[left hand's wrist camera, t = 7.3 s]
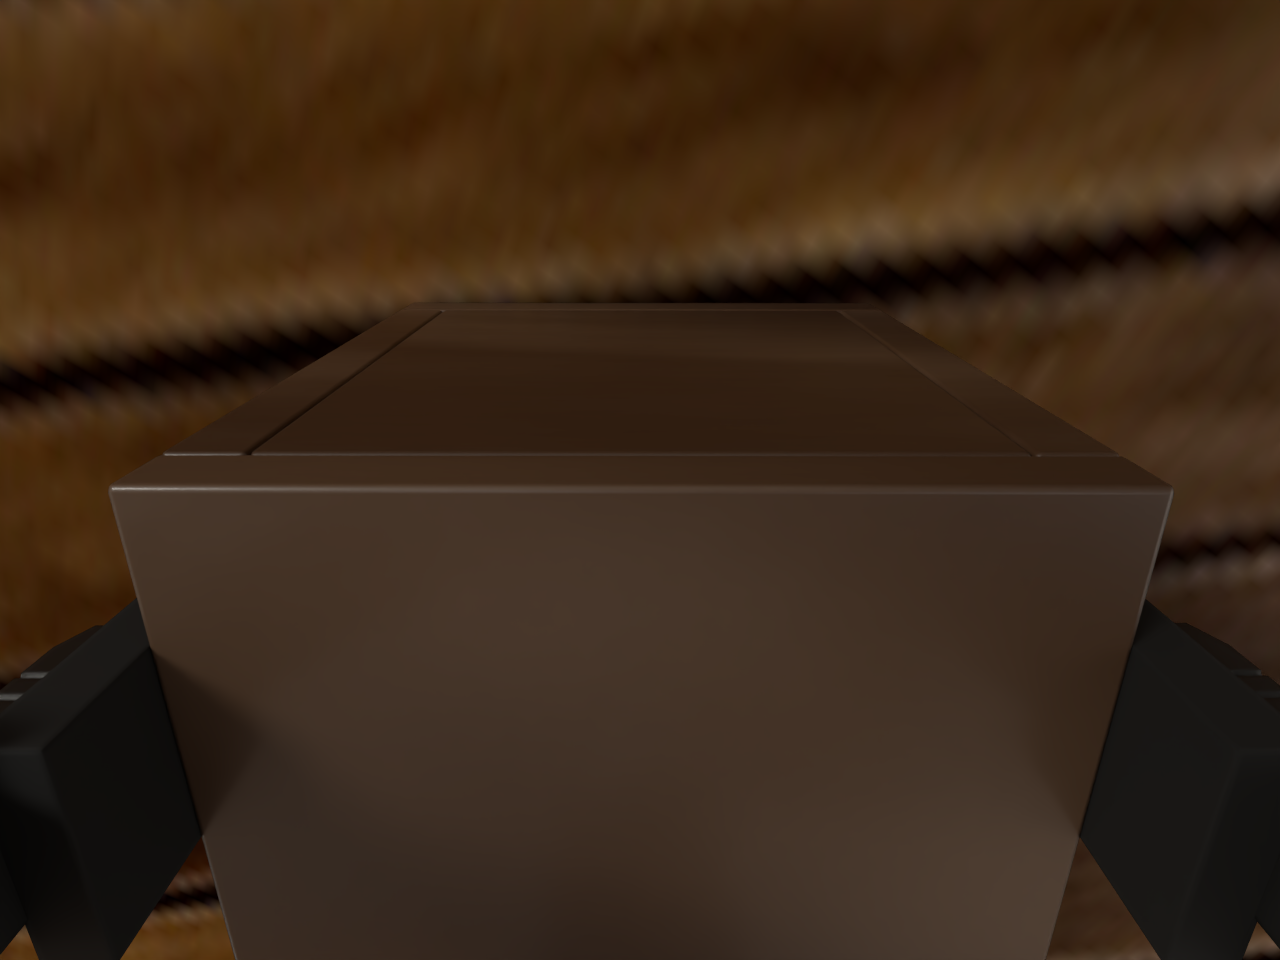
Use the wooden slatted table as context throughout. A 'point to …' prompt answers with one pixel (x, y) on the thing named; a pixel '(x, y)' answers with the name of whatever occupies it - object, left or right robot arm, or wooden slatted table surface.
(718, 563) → the cabinet
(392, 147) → the wooden slatted table surface
